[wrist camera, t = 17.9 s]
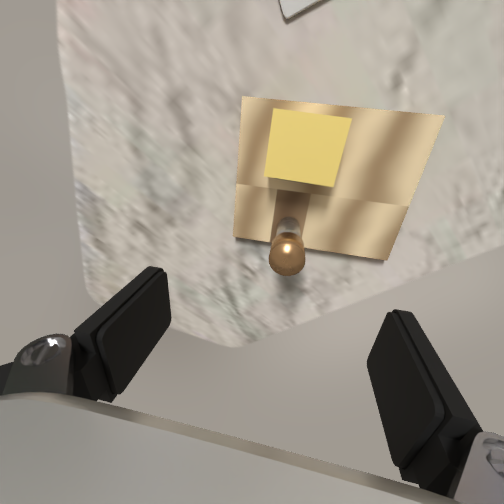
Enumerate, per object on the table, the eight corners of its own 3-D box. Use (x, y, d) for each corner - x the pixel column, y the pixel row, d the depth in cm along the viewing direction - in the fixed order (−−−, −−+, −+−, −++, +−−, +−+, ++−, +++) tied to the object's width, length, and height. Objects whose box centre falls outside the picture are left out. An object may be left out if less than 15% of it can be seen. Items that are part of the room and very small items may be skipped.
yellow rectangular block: (343, 120, 25) (352, 118, 21) (327, 181, 27) (332, 188, 24) (276, 111, 25) (273, 108, 22) (267, 172, 28) (263, 177, 25)
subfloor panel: (438, 116, 24) (445, 115, 23) (384, 256, 31) (387, 260, 30) (244, 97, 26) (242, 96, 25) (234, 233, 33) (232, 236, 32)
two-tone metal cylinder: (301, 213, 30) (304, 242, 22) (302, 238, 31) (305, 275, 23) (274, 215, 30) (267, 244, 22) (276, 240, 32) (270, 276, 24)
